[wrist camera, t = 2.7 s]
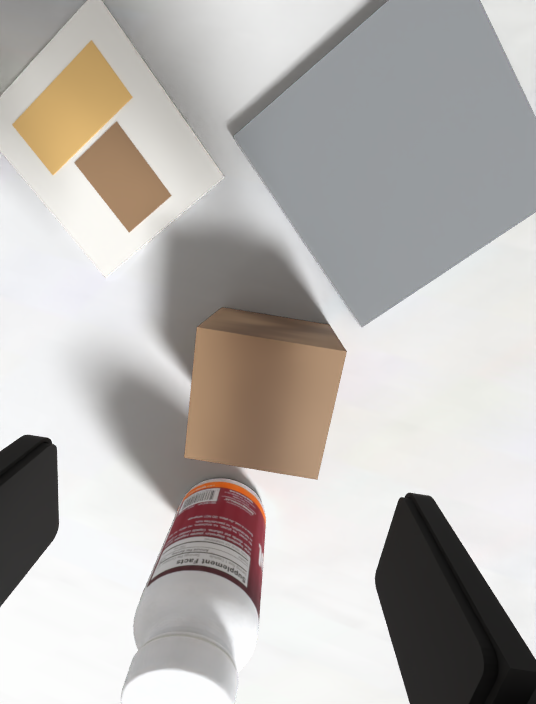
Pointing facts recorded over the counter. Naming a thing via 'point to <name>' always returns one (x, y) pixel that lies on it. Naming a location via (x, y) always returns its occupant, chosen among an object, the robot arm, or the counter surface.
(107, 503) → the counter surface
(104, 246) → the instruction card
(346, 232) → the slate plate
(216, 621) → the pill bottle
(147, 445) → the counter surface
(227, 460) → the walnut block
